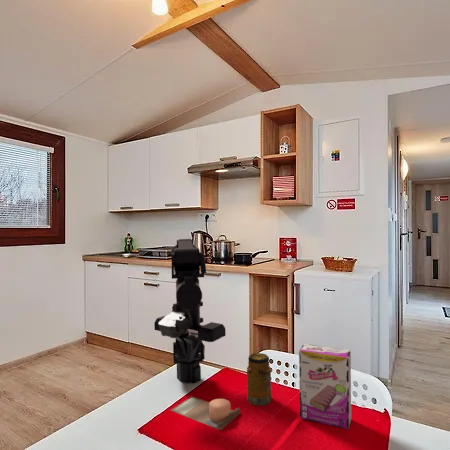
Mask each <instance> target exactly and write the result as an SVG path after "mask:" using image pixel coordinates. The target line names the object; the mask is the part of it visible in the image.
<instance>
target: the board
mask: <svg viewBox="0 0 450 450" xmlns="http://www.w3.org/2000/svg"><path fill="white" fill-rule="evenodd" d="M210 402H211V401H206V400H204V399H200V398H198V397H195V396H192V395H191V396H190V397H188V398H187V399H185V400H183V401H182V402H180V404H178V405H176V406H175V407H173V408H172V409H170V411H171V412H173V413H176V414H178V415H181V416H183V417H186V418H188V419H190V420H194V421H196V422H198V423H201V424H204V425H207V426H208V427H211V428H213V429H216V430H218V431H223V429H224V428H226V427H227V426H228V425H229V424H230V423H231V422H232V421H233V420H234V419H235V418H237V416H239V415H240V414H241V408H240V407H237V408H235V409H234V410H233V409H231V414H230V415H228V416H227V417H226V418H225V419H224V420H223V421H221V422H220V423H215V422H212V421H211V420H210V418H209V403H210Z"/></svg>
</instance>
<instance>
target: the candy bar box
mask: <svg viewBox="0 0 450 450" xmlns="http://www.w3.org/2000/svg"><path fill="white" fill-rule="evenodd" d="M298 352H299V353H298V354H299V355H298V359H299V361H298V362H299V373H298V374H299V377H298V378H299V419H300V418H301V420H306V421H310V422H315V423H318V424H319V423H320V424H324V425H328V426H331V427H336V428H341V429H344V430H349V429H350V424H351V421H352V371H351V369H352V366H351V364H352V354H351V353H352V352H351V350H350V349H345V348H336V347H329V346H323V345H321V346H320V345H316V344H310V343H309V344H307V343H303V344H302V346H301V347H300V349H299V351H298Z"/></svg>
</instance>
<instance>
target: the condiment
mask: <svg viewBox="0 0 450 450" xmlns="http://www.w3.org/2000/svg"><path fill="white" fill-rule="evenodd" d="M247 359H248V362H247V364H248V365H247V367H246V377H247V378H246V381H247V383H246V385H247V387H246V389H247V392H246V393H247V402H248V403H249V404H251V405H253V406H256V407H257V406H258V407H263V406H264V407H265V406H267V405H269V404H270V403H271V402H272V375H271V374H272V373H271V372H272V371H271V366H270V357H269V355H268V354H265V353H261V352H255V353H251V354H249V356H248V358H247Z"/></svg>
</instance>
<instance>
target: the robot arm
mask: <svg viewBox="0 0 450 450" xmlns="http://www.w3.org/2000/svg"><path fill="white" fill-rule="evenodd" d="M170 252H171V255H170V256H171V279H172V280H173V279H176V280H175V300H176V302H175V303H173V304H172V309H171V312H170V313H168V314H166V315H163V316H159V317H157V318H156V319H155V321H154V326H153V327H154V331H157V332H160V334H161V336H162V337H168V338H170V339H175V341H174V342H173V343H172V351H173V356H172V357H173V364H174V365H175V364H176V379H178V381H179V383H182V384H183V383H184V384H197V383H198V382H200V381H202V369H201V368H202V367H201V363H203V361H204V360H205V359H206V358H205V350H206V349H205V344H204V343H203V342H207V343H213V342H216V341H218V340H220V339H221V338H224V337H225V336H226V332H227V331H226V326H225V325H224V324H223V323H218V322H213V321H211V322H208V323H206V324H202V323H204V318H203V317H201V308H202V306H204V302H203V301H202V299H203V291H202V289H201V287H200V279H199V278H205V274H206V273H207V267H206V266H207V265H206V257H205V256H204V253H203V252H201V251H200V248H199V247H197V246H196V245H195V244H194V239H192V238H182V239H181V238H180V239H177V240H176V245H175V246H174V247H173V248H172V249H171V251H170ZM200 362H201V363H200Z"/></svg>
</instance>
